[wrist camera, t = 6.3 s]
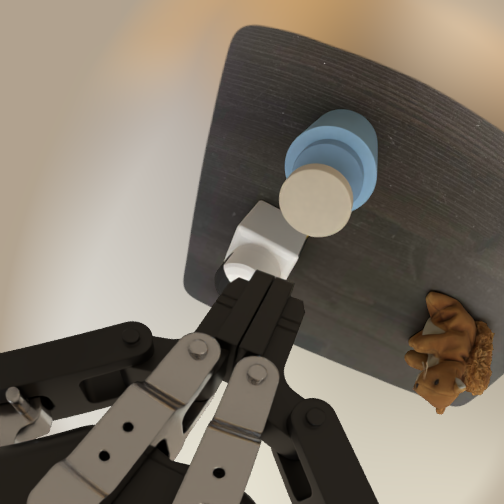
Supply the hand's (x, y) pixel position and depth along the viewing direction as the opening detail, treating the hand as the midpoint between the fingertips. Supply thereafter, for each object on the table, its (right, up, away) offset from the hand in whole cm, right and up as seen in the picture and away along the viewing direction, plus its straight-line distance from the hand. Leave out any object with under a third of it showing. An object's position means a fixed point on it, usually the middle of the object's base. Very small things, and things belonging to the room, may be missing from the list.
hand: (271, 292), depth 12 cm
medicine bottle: (+2, +4, +29) cm, 29 cm away
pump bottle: (+9, +13, +19) cm, 25 cm away
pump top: (+4, +6, +9) cm, 11 cm away
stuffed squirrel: (+27, -9, +26) cm, 39 cm away
